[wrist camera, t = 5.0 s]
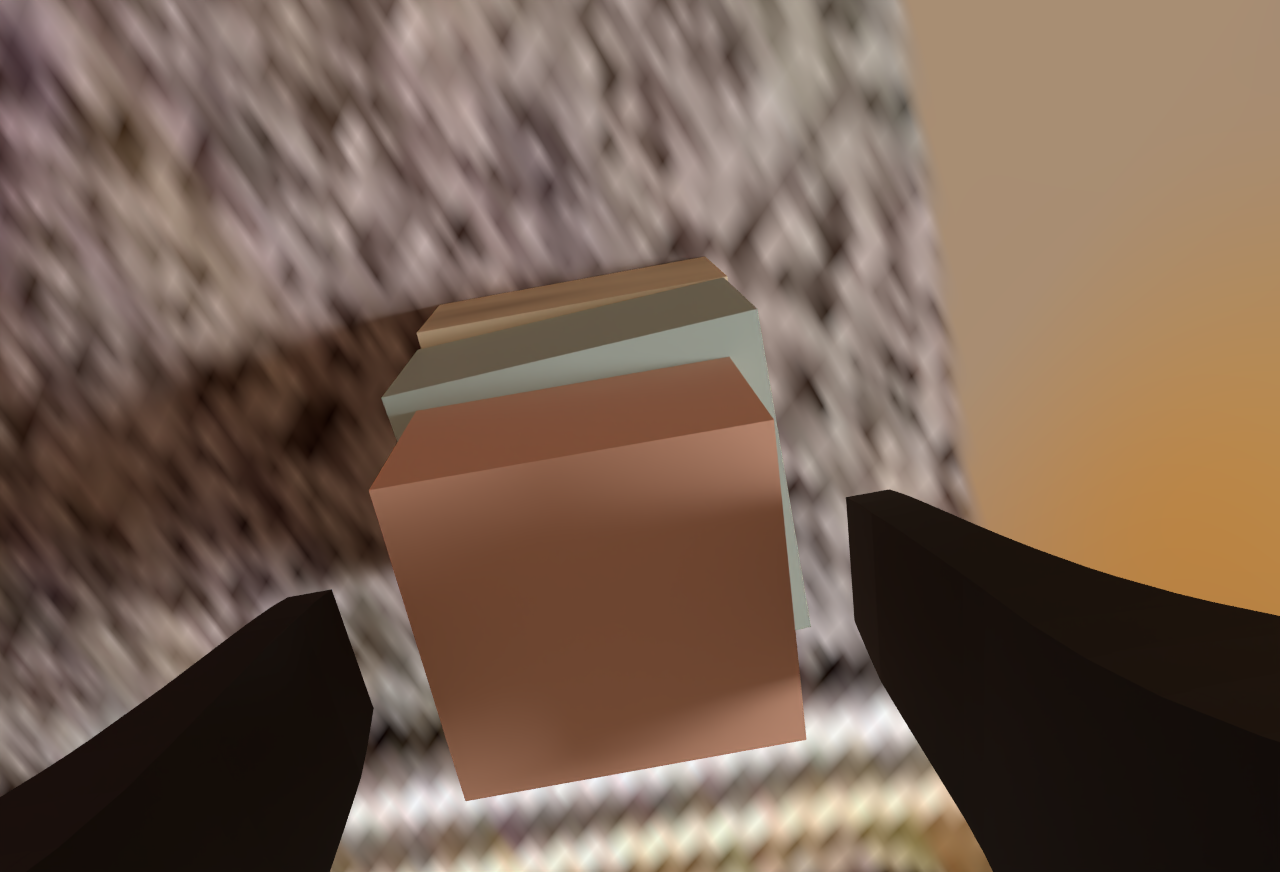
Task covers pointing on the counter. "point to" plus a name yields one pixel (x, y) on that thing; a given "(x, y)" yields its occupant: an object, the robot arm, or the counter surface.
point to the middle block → (601, 363)
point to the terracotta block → (597, 575)
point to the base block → (558, 300)
